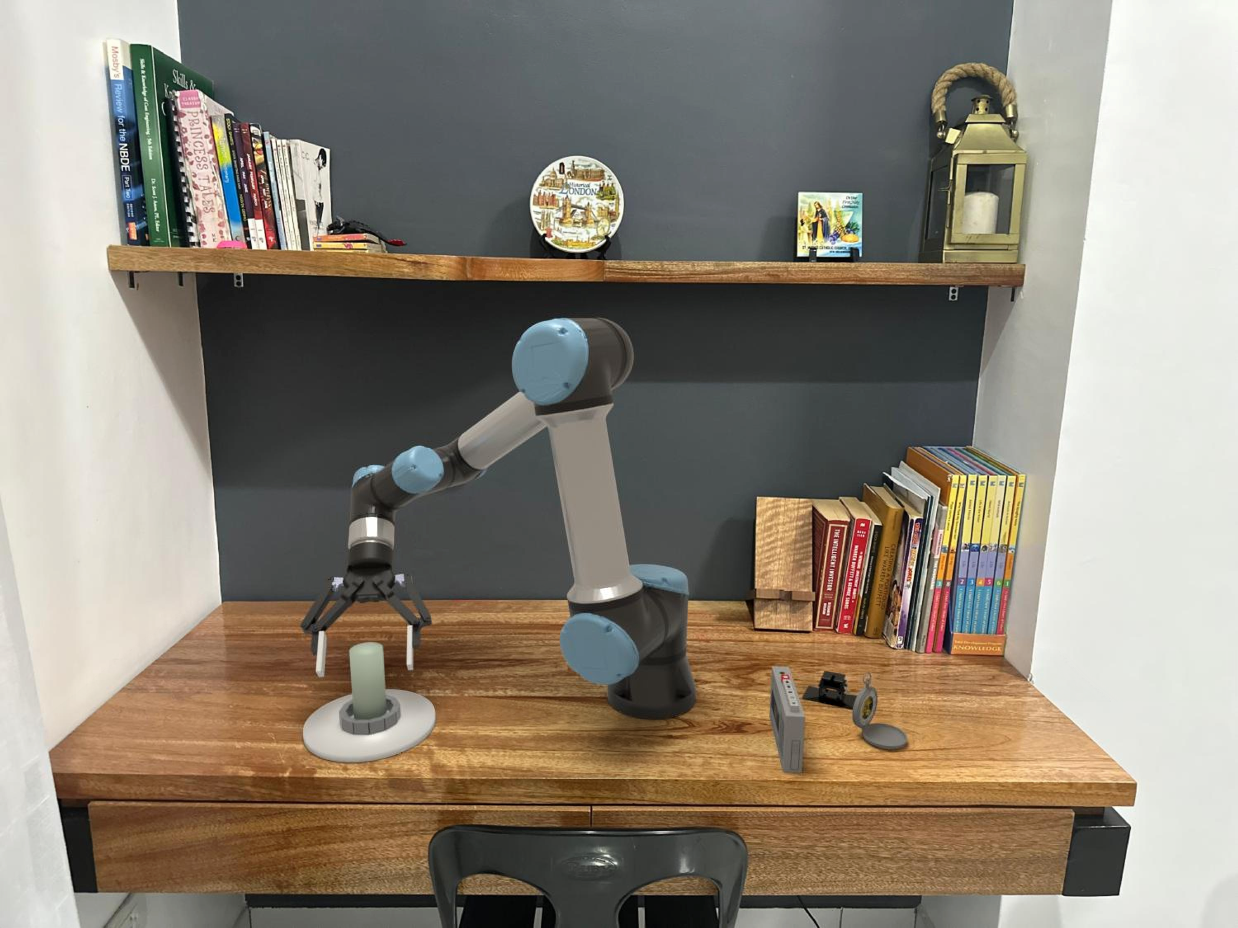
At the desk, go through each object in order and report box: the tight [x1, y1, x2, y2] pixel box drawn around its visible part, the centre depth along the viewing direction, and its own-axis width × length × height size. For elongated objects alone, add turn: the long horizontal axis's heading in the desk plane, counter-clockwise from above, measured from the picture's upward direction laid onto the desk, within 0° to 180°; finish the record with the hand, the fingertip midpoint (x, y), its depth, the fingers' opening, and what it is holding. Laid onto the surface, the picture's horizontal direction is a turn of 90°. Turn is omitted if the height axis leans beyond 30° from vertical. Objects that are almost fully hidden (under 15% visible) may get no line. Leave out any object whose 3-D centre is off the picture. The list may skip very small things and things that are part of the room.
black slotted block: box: [801, 670, 858, 711], centre depth 137 cm, size 12×7×5 cm, turn 65°
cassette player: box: [768, 665, 806, 774], centre depth 122 cm, size 16×3×10 cm, turn 177°
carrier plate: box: [302, 688, 436, 764], centre depth 126 cm, size 20×20×3 cm
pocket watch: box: [851, 671, 908, 750], centre depth 124 cm, size 8×8×10 cm
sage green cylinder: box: [348, 641, 387, 720], centre depth 125 cm, size 5×5×12 cm
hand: (365, 670), depth 125 cm, fingers open, 13 cm apart
